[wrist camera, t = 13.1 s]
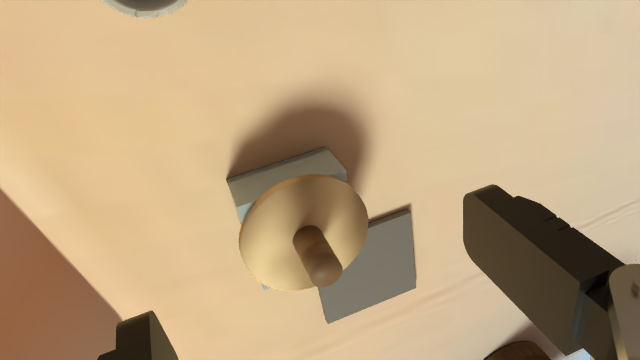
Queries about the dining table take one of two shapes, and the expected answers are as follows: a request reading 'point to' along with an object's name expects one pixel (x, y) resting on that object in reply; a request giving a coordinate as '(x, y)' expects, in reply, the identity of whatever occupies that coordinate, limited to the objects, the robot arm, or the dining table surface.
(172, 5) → the mug
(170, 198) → the dining table surface
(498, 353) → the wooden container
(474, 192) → the robot arm
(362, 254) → the mat
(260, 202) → the lid
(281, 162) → the pale blue open box
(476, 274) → the dining table surface
